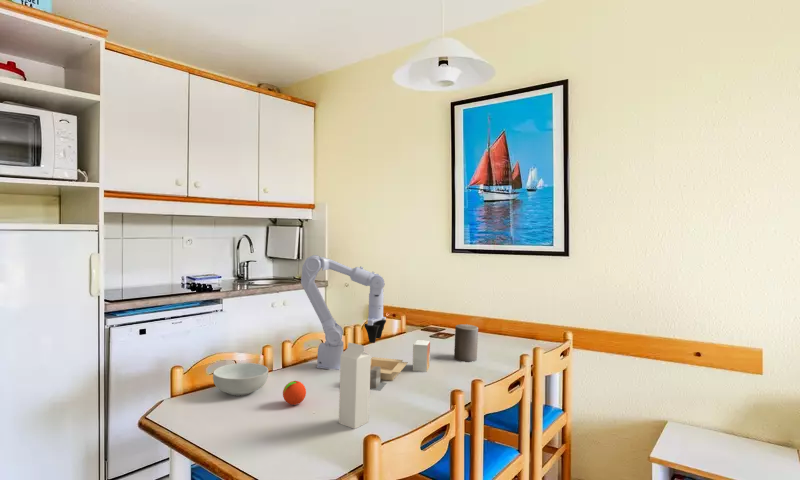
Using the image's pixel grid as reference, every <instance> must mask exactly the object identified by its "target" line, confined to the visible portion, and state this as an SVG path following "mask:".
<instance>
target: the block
mask: <svg viewBox="0 0 800 480" xmlns="http://www.w3.org/2000/svg"><path fill="white" fill-rule="evenodd" d="M380 371H381V367H380V366H370V388H377V387H378V386H379V385H380V382H381V379H380Z"/></svg>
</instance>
